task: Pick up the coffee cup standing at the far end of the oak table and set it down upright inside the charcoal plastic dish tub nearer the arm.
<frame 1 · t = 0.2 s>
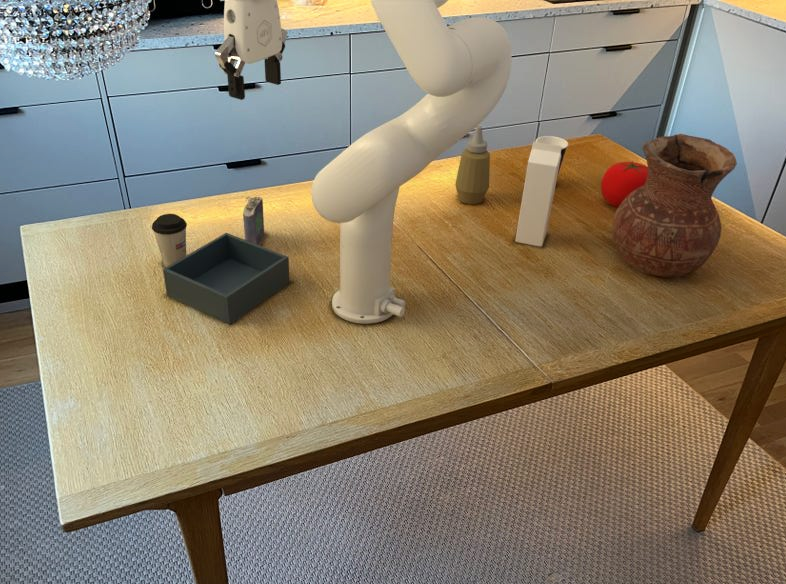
hand: (255, 90, 135), 37 cm above the table, tool pointing down, fingers open, 9 cm apart
milk: (530, 239, 170), on the table
dixie cup: (544, 184, 192), on the table
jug: (655, 261, 163), on the table
squeeze bottle: (470, 200, 184), on the table
coffee cup: (175, 263, 158), on the table
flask: (255, 243, 165), on the table
tomato: (622, 204, 184), on the table
tub: (229, 289, 151), on the table
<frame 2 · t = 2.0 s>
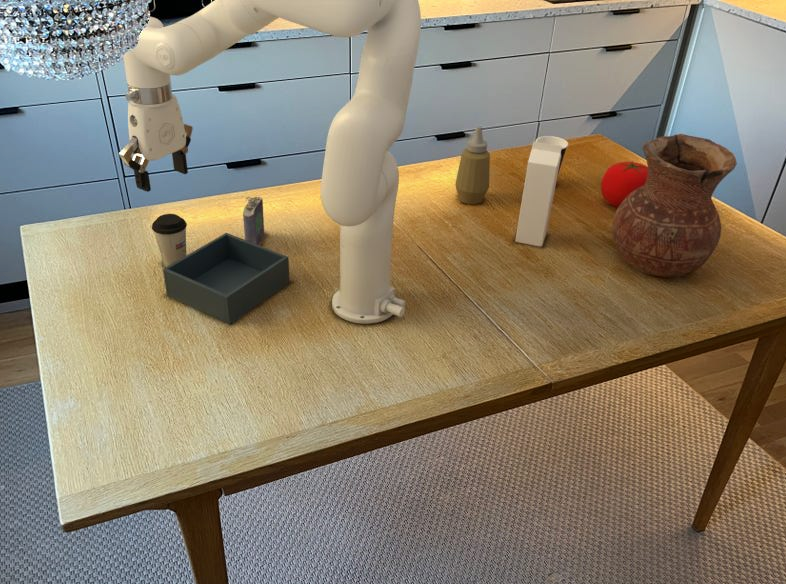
hand: (162, 180, 147), 18 cm above the table, tool pointing down, fingers open, 9 cm apart
nothing on the table moved.
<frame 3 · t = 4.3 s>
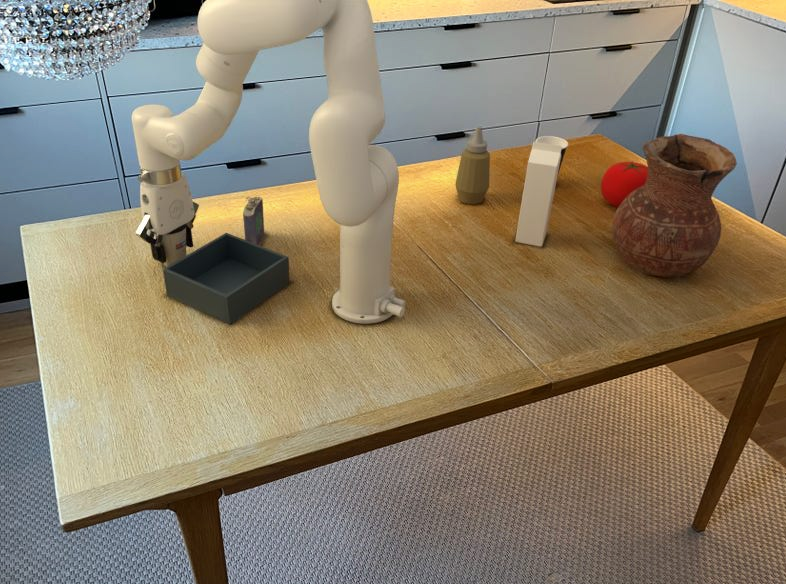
hand: (173, 252, 157), 2 cm above the table, tool pointing down, fingers closed on coffee cup, 7 cm apart
coffee cup: (175, 263, 158), on the table, touching gripper
everything else where it was.
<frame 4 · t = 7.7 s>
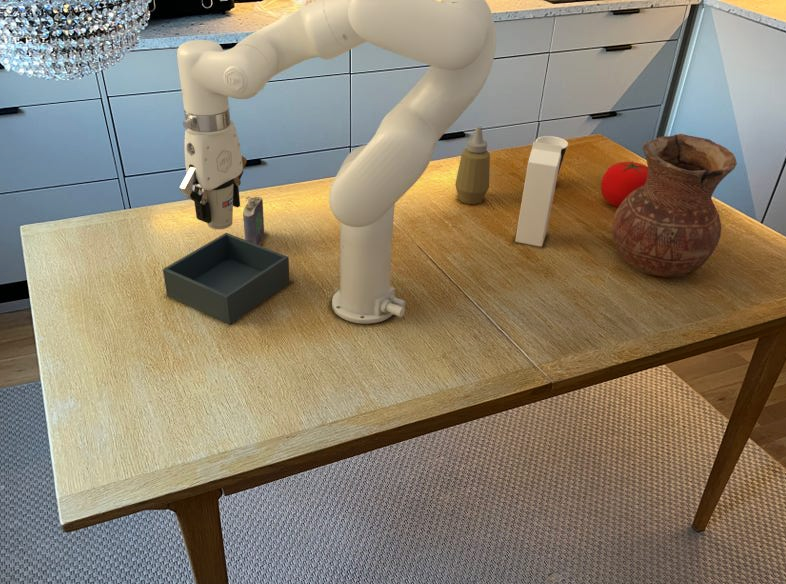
hand: (218, 212, 141), 17 cm above the table, tool pointing down, fingers closed on coffee cup, 7 cm apart
coffee cup: (220, 224, 142), point 14 cm above the table, touching gripper
everything else where it was.
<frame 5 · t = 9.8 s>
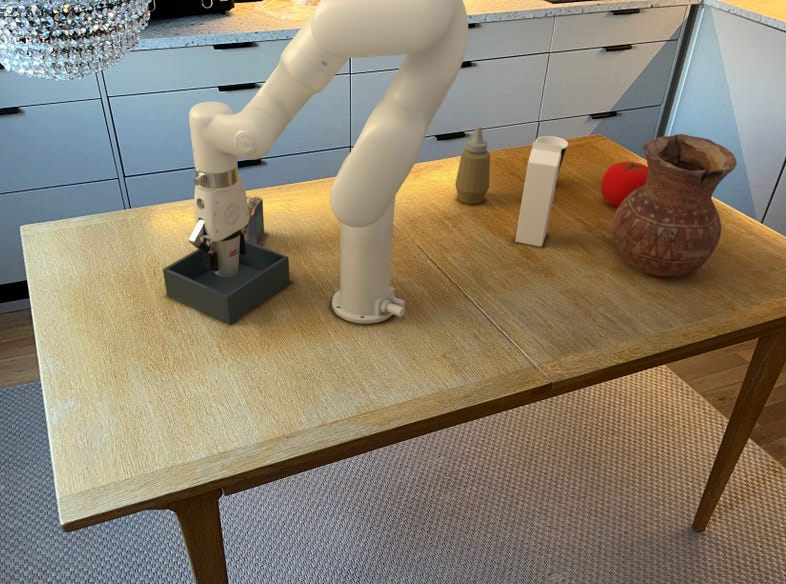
hand: (225, 259, 146), 7 cm above the table, tool pointing down, fingers closed on coffee cup, 7 cm apart
coffee cup: (226, 271, 148), point 4 cm above the table, touching gripper
everything else where it was.
when the fingers open (3 cm above the table, at t = 11.4 s): coffee cup stays where it is, resting on tub.
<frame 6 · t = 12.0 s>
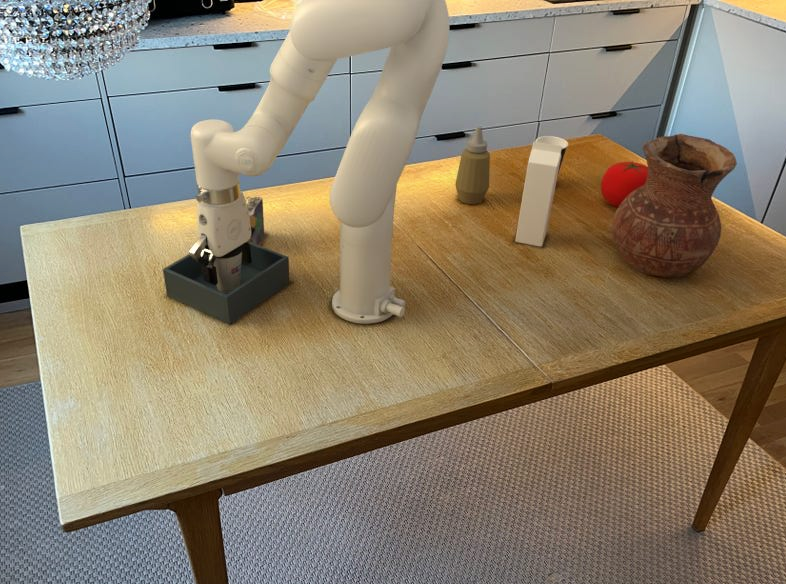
hand: (228, 271, 148), 4 cm above the table, tool pointing down, fingers open, 9 cm apart
coffee cup: (228, 287, 150), resting on tub
everything else where it was.
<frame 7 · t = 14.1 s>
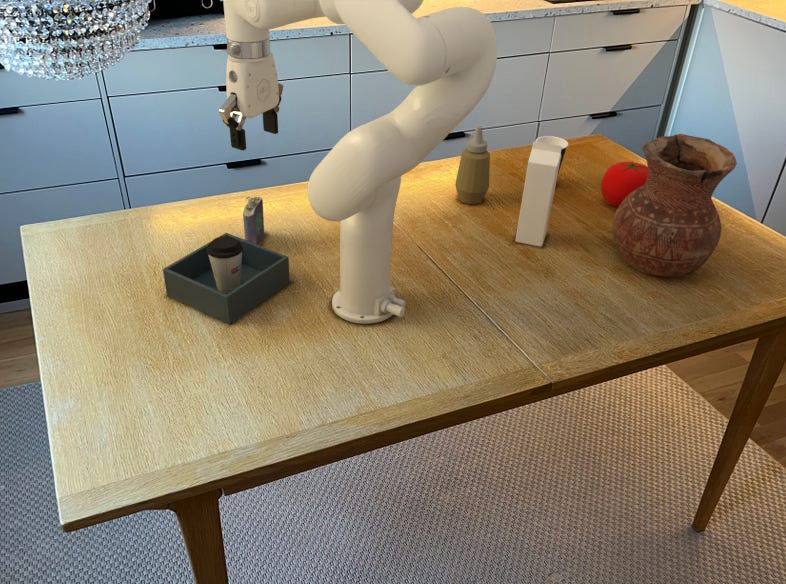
hand: (255, 140, 145), 25 cm above the table, tool pointing down, fingers open, 9 cm apart
nothing on the table moved.
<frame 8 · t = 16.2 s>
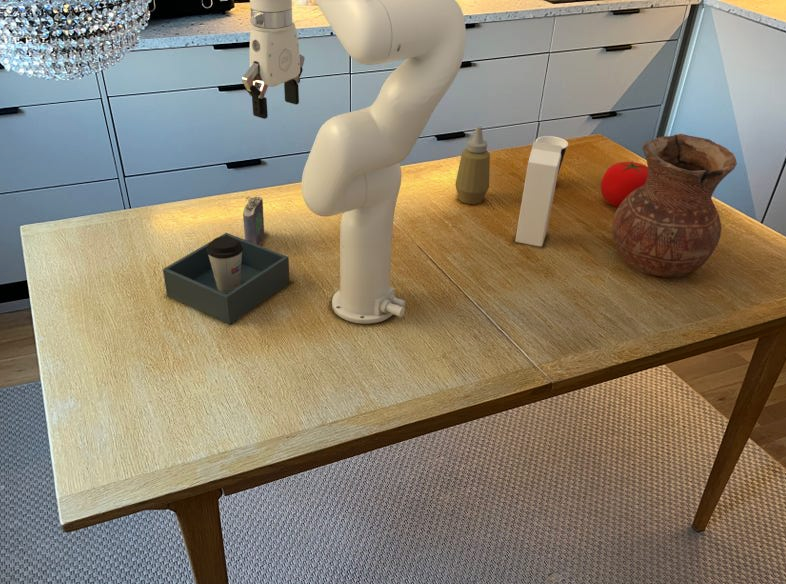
hand: (276, 109, 150), 28 cm above the table, tool pointing down, fingers open, 9 cm apart
nothing on the table moved.
at the end: coffee cup inside the target area in the tub (0.1 cm from its centre), point 0.4 cm above the tub's base; coffee cup tilted 0°; the gripper is holding nothing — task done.
